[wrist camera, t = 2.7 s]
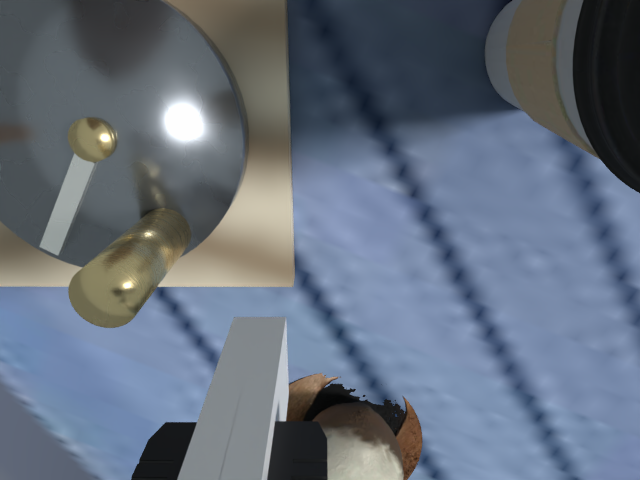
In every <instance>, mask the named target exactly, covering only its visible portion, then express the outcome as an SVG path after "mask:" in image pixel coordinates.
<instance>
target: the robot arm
mask: <svg viewBox="0 0 640 480" xmlns="http://www.w3.org/2000/svg"><path fill="white" fill-rule="evenodd" d="M288 398H289V383H288V356H287V330H286V317H234V319H233V322H232V324H231V327H230V330H229V333H228V336H227V339H226V342H225V344H224V347H223V350H222V353H221V356H220V359H219V362H218V364H217V367H216V370H215V373H214V376H213V379H212V382H211V384H210V387H209V390H208V393H207V396H206V399H205V402H204V404H203V407H202V410H201V413H200V416H199V419H198V422H166V423H165V424H164V425H163V426H162V427H161V428H160V429H159V430H158V431H157V432H156V433H155V434H154V435H153V436H152V437H151V438H150V439H149V440H148V442H147V445H146V447H145V449H144V451H143V453H142V455H141V458H140V460H139V464H137V466H136V468H135V471H134V473H133V475H132V479H131V480H328V464H327V437H326V435H325V433H324V431H323V430H322V428H321V426H320V424H319V422H318V421H286V416H287V407H288Z"/></svg>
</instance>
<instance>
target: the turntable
mask: <svg viewBox="0 0 640 480" xmlns="http://www.w3.org/2000/svg"><path fill="white" fill-rule="evenodd" d="M248 154H249V127H248V119H247V112H246V108H245V104H244V100H243V97H242V94H241V91H240V88H239V86H238V83H237V81H236V78H235V76H234V74H233V72H232V70H231V68H230V66H229V65H228V63H227V61H226V59H225V58H224V56H223V55H222V53H221V52H220V50H219V49H218V47H217V46H216V45H215V43H214V42H213V41H212V40H211V38H210V37H209V36H208V35H207V34H206V33H205V32H204V31H203V29H202V28H201V27H200V26H199V25H198V24H196V23H195V22H194V21H193V20H192V19H191V18H190V17H189V16H187V15H186V14H185V13H184V12H183V11H181V10H180V9H178V8H177V7H175V6H174V5H172V4H171V3H169V2H168V1H166V0H0V221H1V222H2V223H3V224H4V225H5V226H6V227H7V228H9V229H10V230H11V231H12V232H13V233H15V234H16V235H17V236H18V237H20V238H21V239H23V240H24V241H25V242H27V243H28V244H30V245H31V246H33V247H34V248H36V249H38V250H40V251H42V252H44V253H45V254H47V255H49V256H51V257H54V258H56V259H59V260H61V261H63V262H66V263H69V264H72V265H75V266H79V267H82V269H80V270H79V271H78V272H77V273H76V274H75V275H74V276H73V278H72V279H71V281H70V284H69V299H70V302H71V304H72V306H73V308H74V309H75V311H76V312H77V313H78V314H79V315H80V316H81V317H82V318H83V319H85V320H86V321H88V322H90V323H91V324H94V325H96V326H100V327H105V328H115V327H120V326H123V325H125V324H127V323H128V322H130V321H131V320H132V319H133V318H134V317H135V315H136V314H137V313H138V311H139V310H140V309H141V308H142V306H143V305H144V304H145V302H146V301H147V300H148V298H149V297H150V296H151V294H152V293H153V292H154V290H155V289H156V288H157V286H158V285H159V284H160V283H161V281H162V280H163V279H164V277H165V276H166V275H167V273H168V272H169V271H170V269H171V268H172V267H173V265H174V264H175V263H176V261H177V260H178V259H179V258H180V257H182V256H184V255H185V254H187V253H188V252H190V251H191V250H193V249H194V248H196V247H197V246H198V245H199V244H201V243H202V242H203V241H204V240H205V239H206V238H207V237H208V236H209V235H210V234H211V233H212V232H213V231H214V229H215V228H216V227H217V226H218V225H219V223H220V222H221V220H222V219H223V217H224V216H225V214H226V213H227V211H228V210H229V208H230V207H231V205H232V203H233V202H234V200H235V198H236V196H237V194H238V192H239V189H240V187H241V185H242V182H243V179H244V175H245V171H246V168H247V161H248Z"/></svg>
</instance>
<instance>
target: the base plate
mask: <svg viewBox="0 0 640 480" xmlns="http://www.w3.org/2000/svg"><path fill="white" fill-rule="evenodd" d="M166 1H168V2H169V3H171V4H172V5H174V6H175V7H177V8H178V9H180V10H181V11H183V12H184V13H185V14H186V15H187V16H189V17H190V18H191V19H192V20H193V21H194V22H195V23H196V24H198V25H199V26H200V27H201V28H202V29H203V31H204V32H205V33H206V34H207V35H208V36H209V37H210V38H211V40H212V41H213V42H214V43H215V45H216V46H217V47H218V49H219V50H220V52H221V53H222V55H223V56H224V58H225V59H226V61H227V63H228V65H229V66H230V68H231V70H232V72H233V74H234V76H235V78H236V81H237V83H238V86H239V88H240V91H241V94H242V97H243V100H244V104H245V108H246V112H247V119H248V127H249V154H248V161H247V168H246V171H245V175H244V179H243V182H242V185H241V187H240V189H239V192H238V194H237V196H236V198H235V200H234V202H233V203H232V205H231V207H230V208H229V210H228V211H227V213H226V214H225V216H224V217H223V219H222V220H221V222H220V223H219V225H218V226H217V227H216V228H215V229H214V231H213V232H212V233H211V234H210V235H209V236H208V237H207V238H206V239H205V240H204V241H203V242H202V243H201V244H199V245H198V246H197V247H196V248H194V249H193V250H191V251H190V252H188V253H187V254H185V255H184V256H182V257H180V258H179V259H178V260H177V261H176V263H175V264H174V265H173V267H172V268H171V269H170V271H169V272H168V273H167V275H166V276H165V277H164V279H163V280H162V281H161V283H160V284H159V285H158V286H157V287H293V284H294V277H295V267H294V231H293V196H292V160H291V124H290V88H289V52H288V16H287V0H166ZM80 269H82V267H79V266H75V265H72V264H69V263H66V262H63V261H61V260H59V259H56V258H54V257H51V256H49V255H47V254H45V253H44V252H42V251H40V250H38V249H36V248H34V247H33V246H31V245H30V244H28V243H27V242H25V241H24V240H23V239H21V238H20V237H18V236H17V235H16V234H15V233H13V232H12V231H11V230H10V229H9V228H7V227H6V226H5V225H4V224H3V223H2V222H1V221H0V286H39V287H69V284H70V281H71V279H72V278H73V276H74V275H75V274H76V273H77V272H78V271H79V270H80Z"/></svg>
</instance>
